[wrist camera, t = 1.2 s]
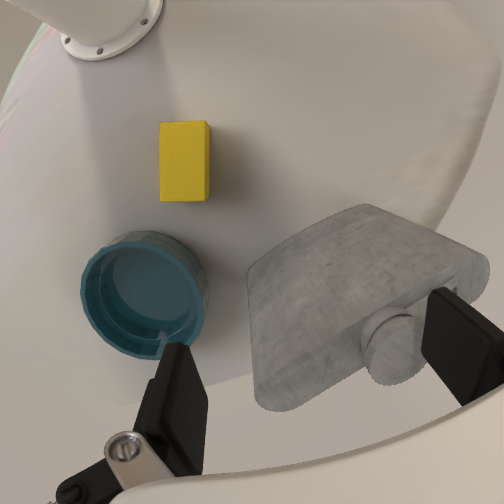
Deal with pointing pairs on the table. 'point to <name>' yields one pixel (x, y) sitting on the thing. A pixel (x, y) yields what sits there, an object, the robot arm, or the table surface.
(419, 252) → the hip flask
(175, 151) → the sponge
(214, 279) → the table surface
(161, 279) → the bowl
